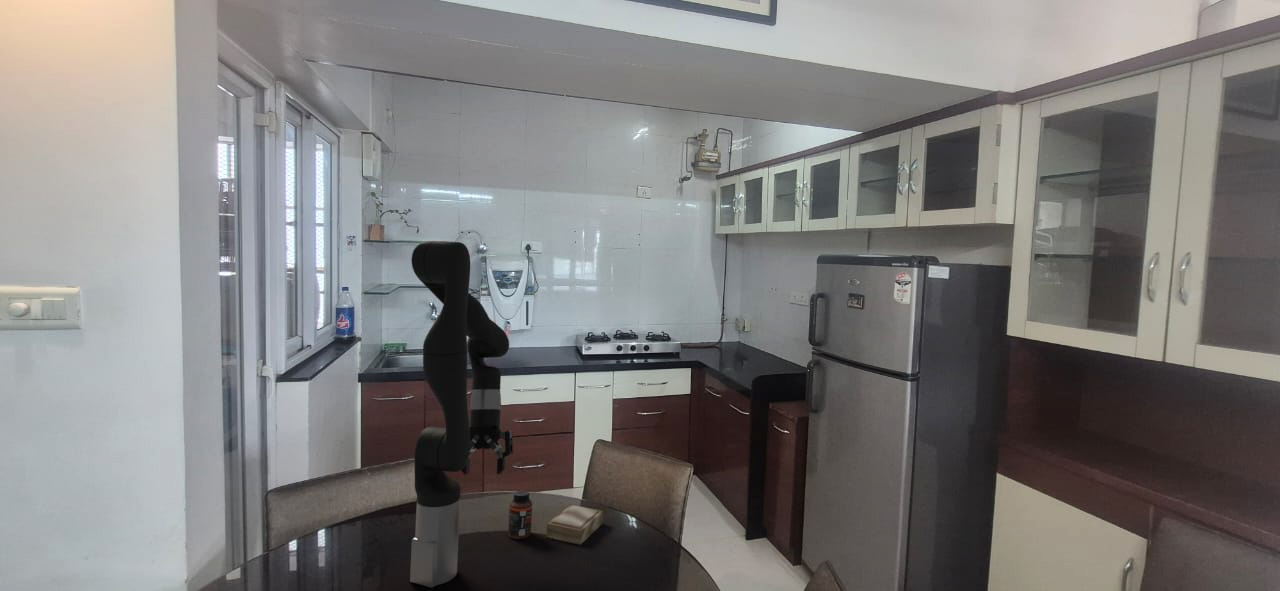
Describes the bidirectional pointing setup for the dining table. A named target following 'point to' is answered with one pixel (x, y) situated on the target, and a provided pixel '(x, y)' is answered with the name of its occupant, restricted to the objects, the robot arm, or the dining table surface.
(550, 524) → the beige flat block
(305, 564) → the dining table surface
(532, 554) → the dining table surface
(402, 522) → the dining table surface
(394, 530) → the dining table surface
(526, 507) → the supplement bottle
